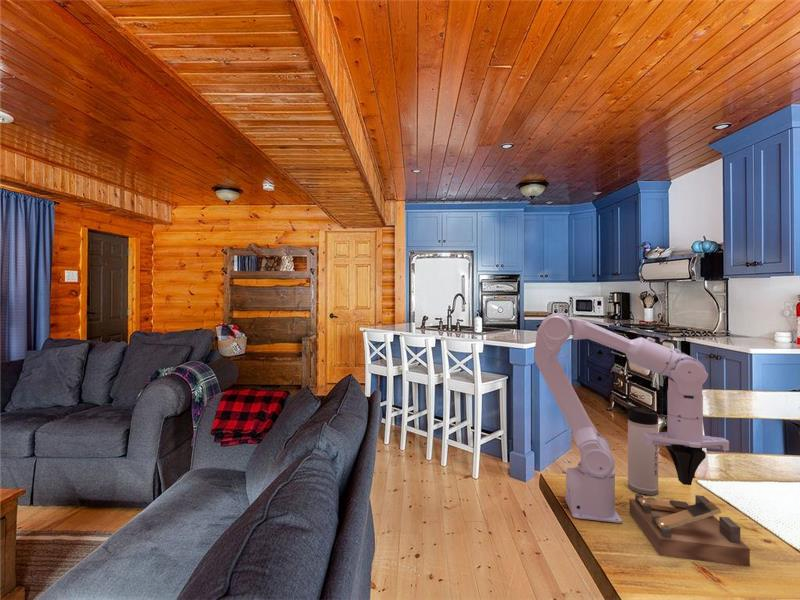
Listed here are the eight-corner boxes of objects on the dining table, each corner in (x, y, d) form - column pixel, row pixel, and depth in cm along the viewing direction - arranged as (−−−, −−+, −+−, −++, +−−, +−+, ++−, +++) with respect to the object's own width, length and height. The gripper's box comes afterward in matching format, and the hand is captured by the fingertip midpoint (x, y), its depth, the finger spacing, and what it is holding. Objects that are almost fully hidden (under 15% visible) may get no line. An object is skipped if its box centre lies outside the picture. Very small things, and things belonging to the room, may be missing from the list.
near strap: (662, 532, 70) (659, 525, 70) (656, 524, 73) (653, 517, 73) (722, 514, 68) (718, 506, 68) (713, 506, 71) (710, 499, 71)
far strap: (642, 507, 78) (643, 501, 78) (637, 501, 81) (637, 494, 81) (700, 517, 76) (701, 510, 76) (693, 509, 78) (694, 503, 78)
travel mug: (622, 481, 96) (622, 403, 97) (651, 484, 95) (651, 404, 95) (632, 494, 90) (632, 410, 90) (663, 497, 89) (663, 411, 89)
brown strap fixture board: (659, 555, 69) (659, 522, 69) (629, 512, 82) (629, 486, 82) (749, 566, 66) (749, 532, 66) (703, 520, 80) (703, 492, 80)
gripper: (654, 418, 74) (654, 488, 74) (739, 423, 71) (739, 496, 71) (638, 408, 81) (638, 472, 81) (716, 412, 78) (716, 478, 78)
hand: (684, 482), depth 76 cm, fingers closed
